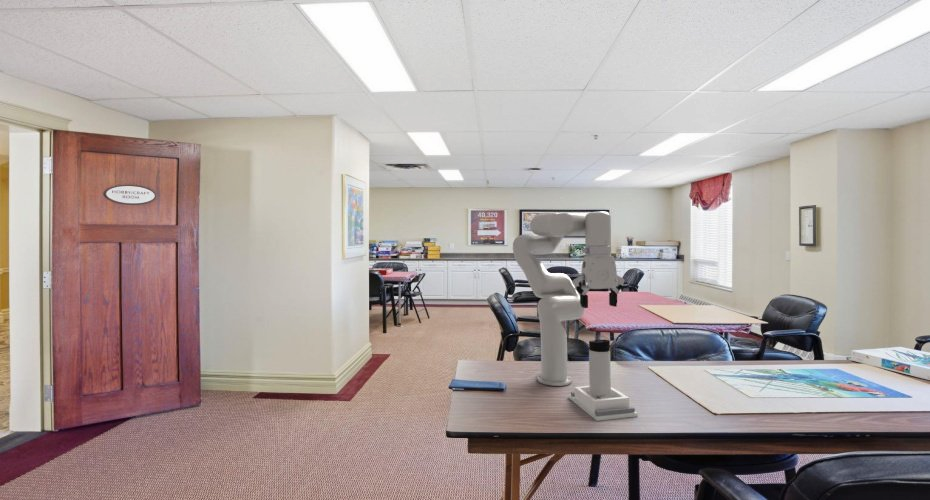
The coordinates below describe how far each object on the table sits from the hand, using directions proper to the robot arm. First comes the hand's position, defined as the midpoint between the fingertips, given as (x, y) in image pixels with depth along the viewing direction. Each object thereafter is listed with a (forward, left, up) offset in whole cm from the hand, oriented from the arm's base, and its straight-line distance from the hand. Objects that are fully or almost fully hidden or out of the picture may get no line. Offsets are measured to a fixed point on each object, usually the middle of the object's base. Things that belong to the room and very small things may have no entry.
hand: (598, 306), depth 125 cm
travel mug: (0, 0, -30) cm, 30 cm away
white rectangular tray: (0, 0, -31) cm, 31 cm away
